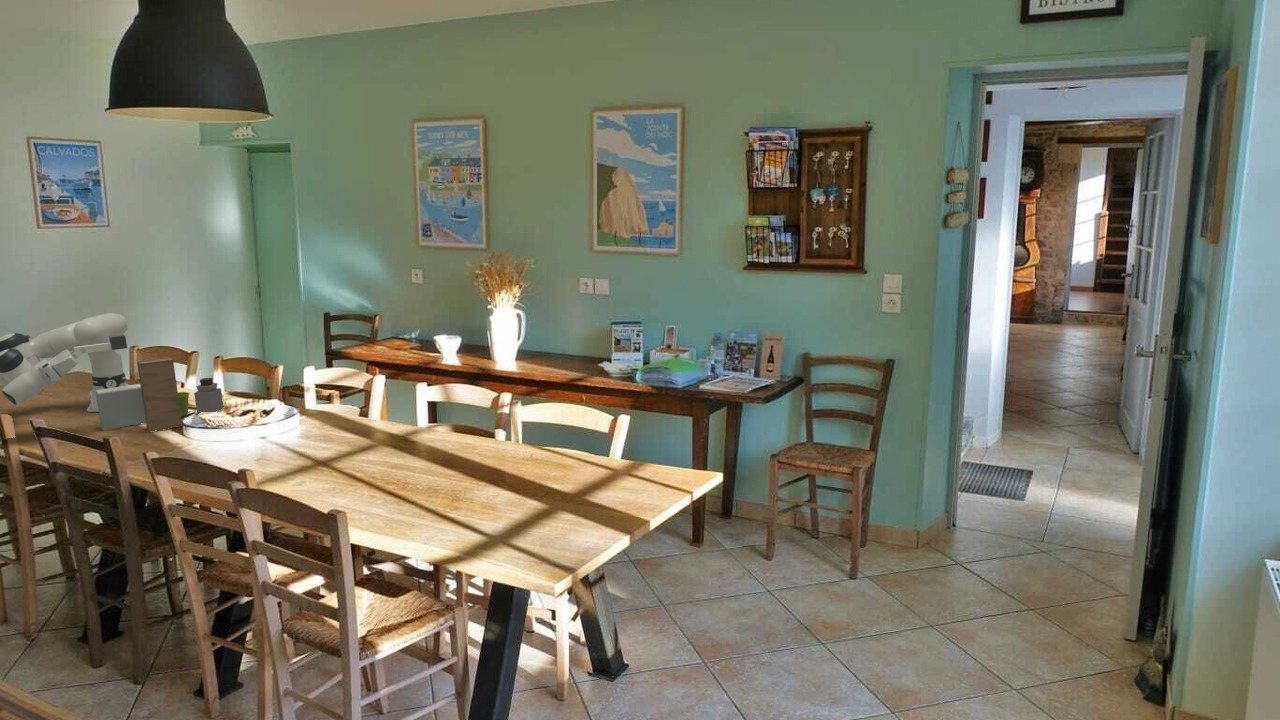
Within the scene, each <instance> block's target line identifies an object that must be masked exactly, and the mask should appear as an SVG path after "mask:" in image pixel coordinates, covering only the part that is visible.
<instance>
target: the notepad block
mask: <svg viewBox="0 0 1280 720" xmlns="http://www.w3.org/2000/svg"><path fill="white" fill-rule="evenodd" d="M96 398H97V404H98V411H99V412H98V416H99V422H100V428H101V429H102V431H103V432H104V431H109V430H116V429H121V428H120V427H122V428H125V427H124V426H128V427H130V426H129V425H134V426H137V425H136V424H140V425H142V424H141V423H146V420H145V414H144V407H143V400H142V393H141V386H140V383H137V384H136V383H135V384H128V386H121V387H114V388H107V389H100V390H96Z"/></svg>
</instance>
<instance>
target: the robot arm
mask: <svg viewBox="0 0 1280 720" xmlns="http://www.w3.org/2000/svg"><path fill="white" fill-rule="evenodd" d="M128 327H129V326H128V321H127V319H126V318H125V316H123V315H122V314H119V313H112V312H107V313H103V314H102V313H101V314H98V315H94V316H90V317H86V318H83V319H82V320H79V321H76V322H72V323H69V324H66V325H63V326H59V327H57V328H54V329H51V330H48V331H46V332H43V333H41V334H40V335H38V336H36V337H34V338H32V339H30V338H31V336H30V335H28V334H27V335H25V334H23V333H19V332H18V333H17V332H14V333H13V332H12V333H6V334H4V335H2V336H1V337H0V386H1V387H3V388H2V389H1V392H2V395H3V396H4V397H5V398H6V399H7V400H8V401H10V403H12V404H13V405H16V406H18V405H21V404H23V403H25V402H27V401H29V400H31V399H33V398H34V397H35V396H38V395H39V394H40V393H42V392H43V391H44V389H45V388H50V387H51V386H52V385H54V384H55V383H57V382H59V381H60V380H62V378H63V377H64V376H65V375H66V374H67V373H69V372H70V371H71V370H72V369H74V368H75V367H76V366H77V365H78V364H79V362H78V360H77V359H78V358H80V357H81V356H82V355H83V354H85V353H84V352H86V350H85V349H84V348H83V347H82V348H80V349H79V350H78V351H76V352H75V353H74V348H73V347H77V346H86V345H94V344H103V343H110V342H109V336H113V335H122V334H124V335H125V334H126V332H127V330H128ZM87 355H88V359H89V361H90V367H91V371H92V372H91V373H92V377H91V382H92V386H93V388H91V390H90V392H89V393H87V394H88V399H89V400H90V402H89V405H88V407H87V409H86V412H87V413H90V412H93V413H94V412H97V413H99V411H98V404H97V398H96V390H100V389H107V388H114V387H121V386H128V385H129V383H127V382H126V381H127V379H126V374H125V371H124V367H123V362H122V356H121V354H120V352H118V350H117V351H116V350H105V351H97V352H89V353H87ZM40 359H43V360H40ZM47 359H49V360H47Z"/></svg>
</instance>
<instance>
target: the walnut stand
mask: <svg viewBox="0 0 1280 720" xmlns="http://www.w3.org/2000/svg"><path fill="white" fill-rule="evenodd" d="M136 365H137V372H138V378H139V384H140V386H141V393H142V400H143V407H144V414H145V420H146V424H145V426H146V429H147V428H148V429H147V431H148V432H149V431H155V430H161V431H164V430H163V429H167V430H169V429H168V428H171V427H173V426H177V425H179V424H181V422H182V416H181V413H180V406H179V399H178V392H179V391H178V386H177V385H178V384H177V377H176V371H175V364H174V359H173V358H172V357H170V356H164V357H158V358H157V357H155V358H149V359H148V358H147V359H142V360H141V359H140V360H136ZM182 423H183V422H182Z"/></svg>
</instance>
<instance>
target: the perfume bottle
mask: <svg viewBox="0 0 1280 720" xmlns="http://www.w3.org/2000/svg"><path fill="white" fill-rule="evenodd" d="M213 379H214V378H213V377H203V378H201V379H199V382H200V383H199V385H196V389H197V391H195V392H194V393H193V394H194V401H195V402H194V403H195V409H196V416H197V415H198V414H199V413H201V412H216V411H219V410H221V409H222V408H224V401H223V392H222V388H221V387H220V388H218V384H219V383H218V382H213V381H214V380H213Z"/></svg>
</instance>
